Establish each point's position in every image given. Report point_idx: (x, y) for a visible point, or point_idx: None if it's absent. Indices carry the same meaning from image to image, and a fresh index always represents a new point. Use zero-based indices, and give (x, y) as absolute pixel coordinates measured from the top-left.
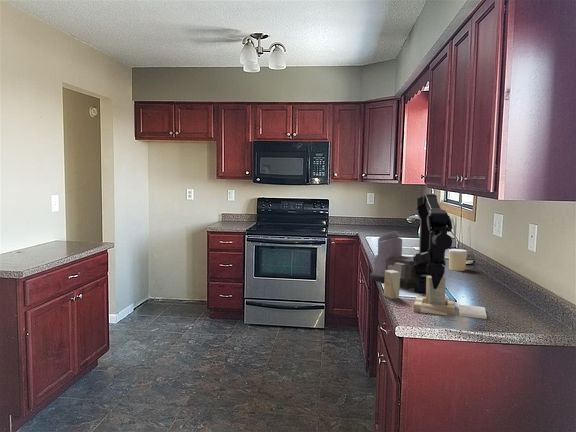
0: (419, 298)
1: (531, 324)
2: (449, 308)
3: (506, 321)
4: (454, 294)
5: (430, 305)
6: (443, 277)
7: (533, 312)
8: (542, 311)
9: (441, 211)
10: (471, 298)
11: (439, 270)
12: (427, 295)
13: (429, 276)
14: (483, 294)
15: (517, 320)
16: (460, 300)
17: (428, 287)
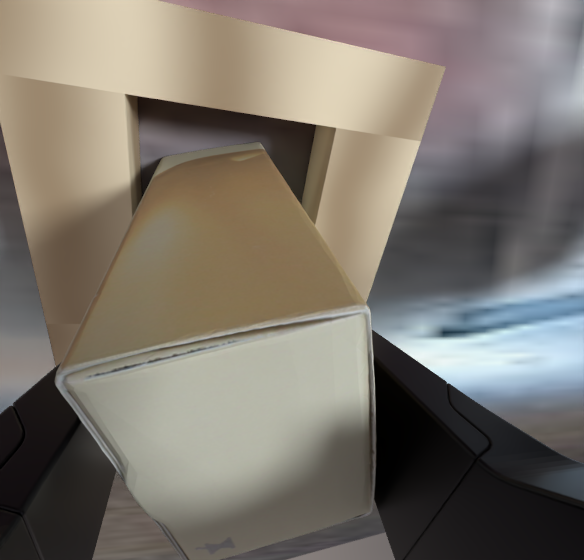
0: (339, 86)
1: (118, 552)
2: (51, 337)
3: (114, 505)
4: (578, 328)
5: (66, 189)
6: (223, 552)
7: (298, 538)
8: (318, 549)
9: None
10: (492, 391)
11: None
12: (190, 186)
13: (260, 378)
14: (549, 422)
15: (156, 524)
16: (459, 353)
17: (124, 244)
